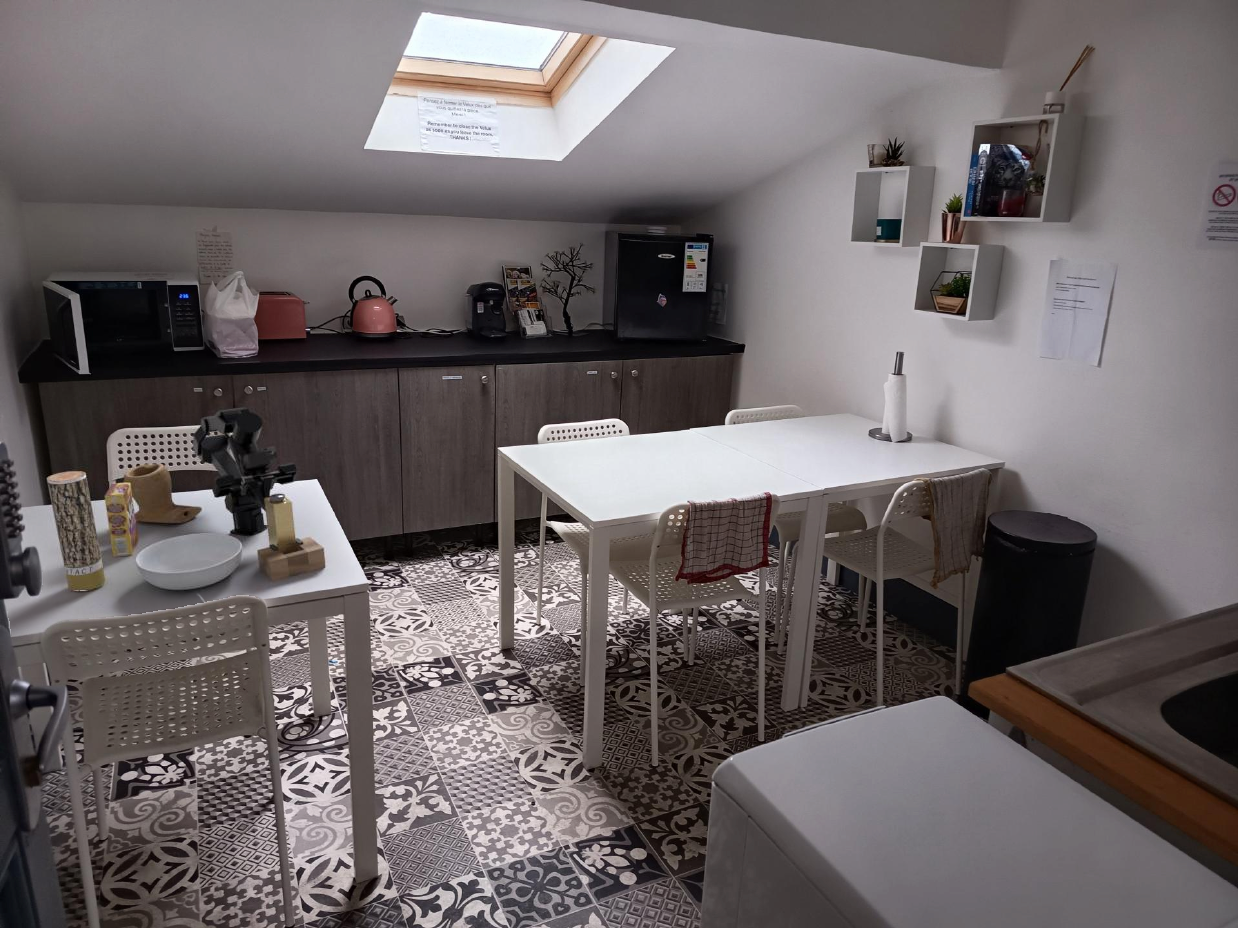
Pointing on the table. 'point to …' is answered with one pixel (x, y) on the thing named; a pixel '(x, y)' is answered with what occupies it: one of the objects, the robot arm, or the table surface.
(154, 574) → the serving bowl
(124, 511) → the candy box
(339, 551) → the table surface
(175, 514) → the tan ankle boot
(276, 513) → the brass post
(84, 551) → the paper tube
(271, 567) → the walnut housing
